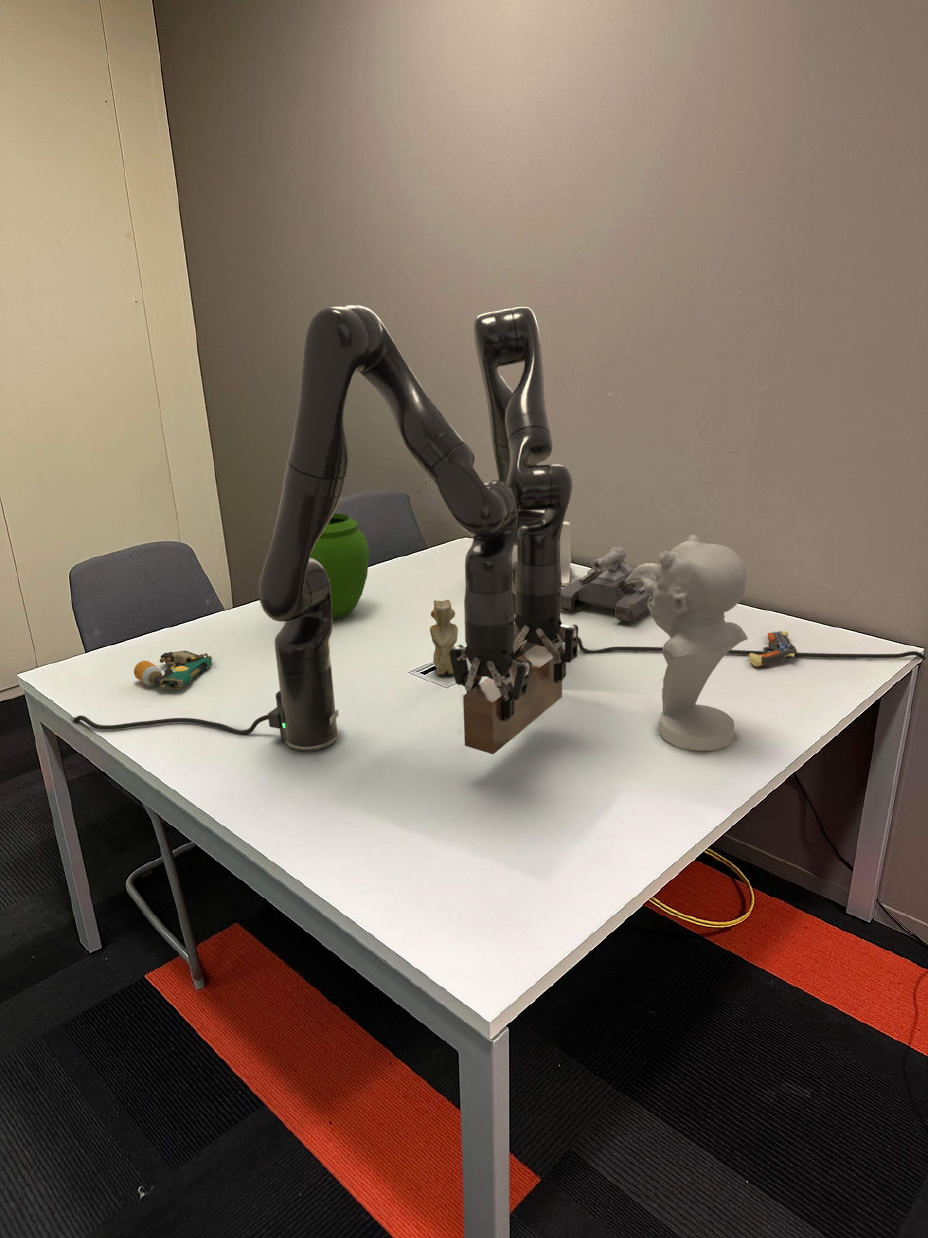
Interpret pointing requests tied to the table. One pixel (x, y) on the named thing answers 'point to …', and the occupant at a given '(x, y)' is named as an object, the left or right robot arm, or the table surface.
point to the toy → (608, 588)
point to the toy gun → (774, 649)
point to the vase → (343, 562)
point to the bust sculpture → (694, 634)
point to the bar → (542, 693)
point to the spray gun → (172, 669)
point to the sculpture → (443, 635)
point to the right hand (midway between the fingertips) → (538, 676)
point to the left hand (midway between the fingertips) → (490, 714)
